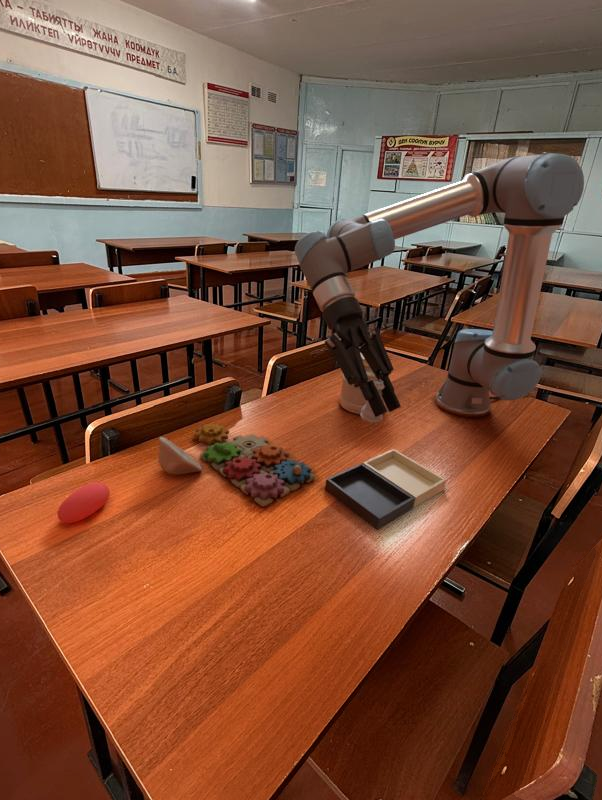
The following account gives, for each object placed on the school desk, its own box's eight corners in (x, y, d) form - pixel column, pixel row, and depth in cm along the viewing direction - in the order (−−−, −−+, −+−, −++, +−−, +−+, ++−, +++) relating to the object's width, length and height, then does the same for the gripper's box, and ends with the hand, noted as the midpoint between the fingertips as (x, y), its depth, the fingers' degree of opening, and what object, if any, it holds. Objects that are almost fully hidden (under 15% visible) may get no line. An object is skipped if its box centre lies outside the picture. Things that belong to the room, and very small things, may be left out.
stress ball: (119, 516, 78) (119, 480, 78) (70, 526, 70) (70, 487, 71) (101, 514, 81) (101, 479, 81) (52, 524, 73) (52, 485, 73)
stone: (209, 465, 94) (210, 447, 86) (192, 492, 90) (191, 476, 82) (167, 442, 94) (164, 422, 86) (148, 469, 91) (143, 451, 82)
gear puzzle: (175, 440, 100) (174, 425, 98) (233, 420, 110) (233, 406, 109) (261, 510, 80) (262, 492, 79) (322, 478, 91) (323, 461, 89)
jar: (331, 398, 127) (337, 340, 119) (368, 393, 132) (377, 337, 125) (353, 419, 116) (362, 356, 109) (393, 412, 122) (404, 352, 114)
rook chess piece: (381, 424, 84) (388, 387, 81) (358, 421, 85) (364, 383, 82) (382, 414, 88) (389, 378, 85) (361, 411, 89) (366, 375, 86)
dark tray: (360, 472, 94) (361, 462, 93) (412, 508, 84) (415, 498, 83) (324, 489, 88) (326, 478, 87) (377, 529, 78) (379, 518, 77)
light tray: (391, 457, 100) (393, 448, 99) (444, 489, 91) (446, 479, 90) (361, 472, 94) (362, 462, 93) (413, 507, 84) (416, 497, 83)
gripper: (356, 311, 95) (402, 408, 91) (297, 319, 85) (346, 429, 81) (378, 291, 89) (428, 395, 85) (317, 298, 79) (370, 415, 75)
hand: (388, 411), depth 83 cm, fingers closed on rook chess piece, 3 cm apart
